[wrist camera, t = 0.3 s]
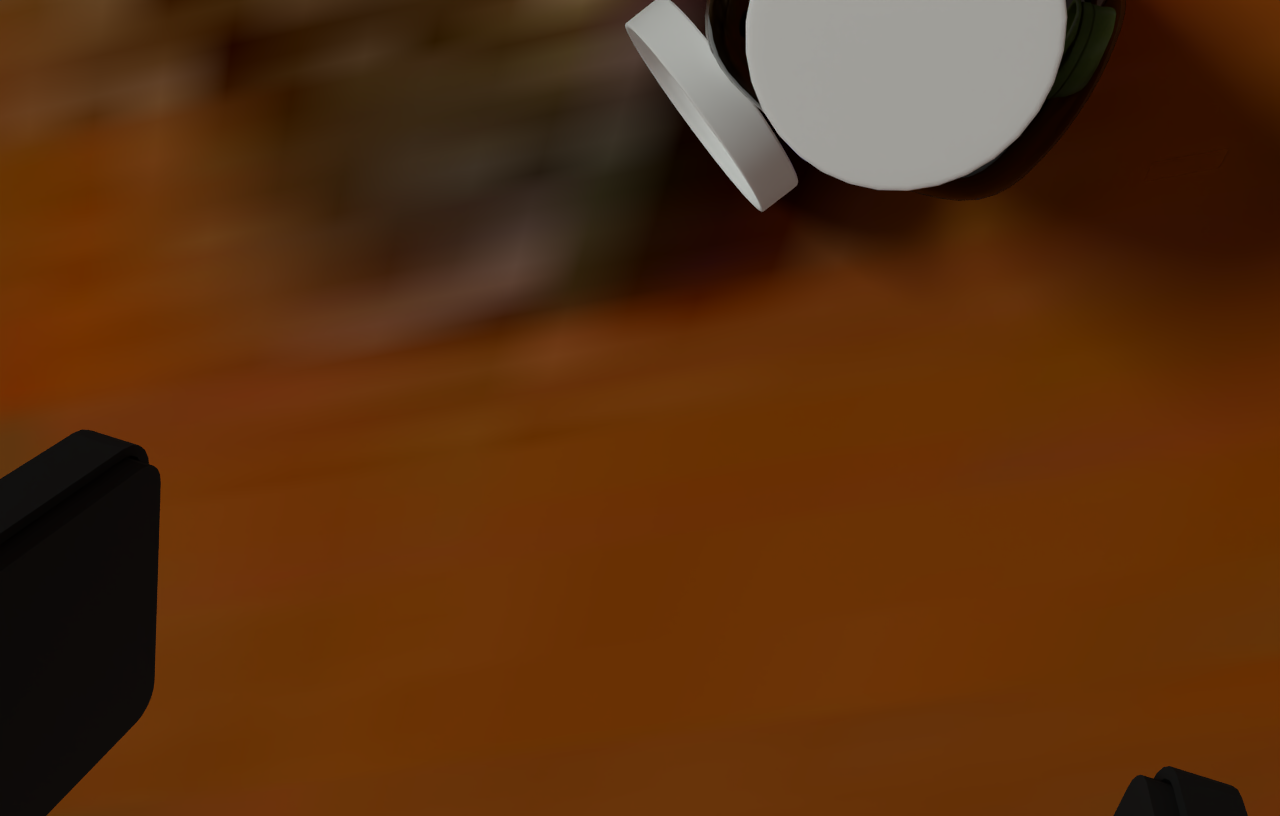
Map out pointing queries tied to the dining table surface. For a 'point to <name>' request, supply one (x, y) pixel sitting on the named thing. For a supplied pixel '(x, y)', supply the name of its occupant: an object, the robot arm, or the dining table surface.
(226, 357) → the dining table surface
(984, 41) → the spread jar
